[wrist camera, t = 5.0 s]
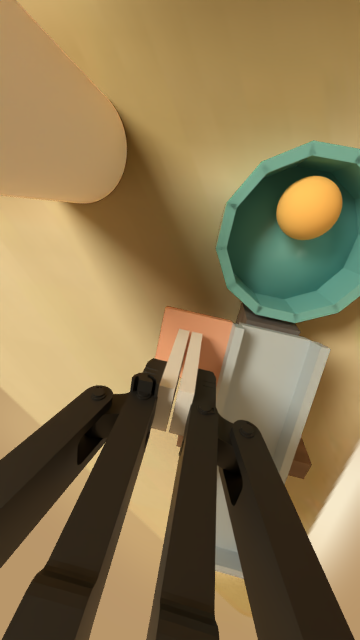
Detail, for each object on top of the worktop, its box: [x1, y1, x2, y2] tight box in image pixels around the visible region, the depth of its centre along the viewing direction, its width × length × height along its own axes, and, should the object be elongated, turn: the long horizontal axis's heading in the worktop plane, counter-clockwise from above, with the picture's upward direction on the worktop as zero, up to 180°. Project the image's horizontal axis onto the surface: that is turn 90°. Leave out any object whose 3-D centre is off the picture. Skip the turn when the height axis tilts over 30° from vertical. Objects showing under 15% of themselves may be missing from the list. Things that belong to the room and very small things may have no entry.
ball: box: [276, 176, 342, 240], centre depth 17 cm, size 4×4×4 cm
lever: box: [155, 306, 330, 579], centre depth 20 cm, size 20×11×4 cm, turn 169°
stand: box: [177, 302, 312, 479], centre depth 23 cm, size 19×11×8 cm, turn 169°
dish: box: [216, 141, 360, 323], centre depth 19 cm, size 11×11×4 cm
